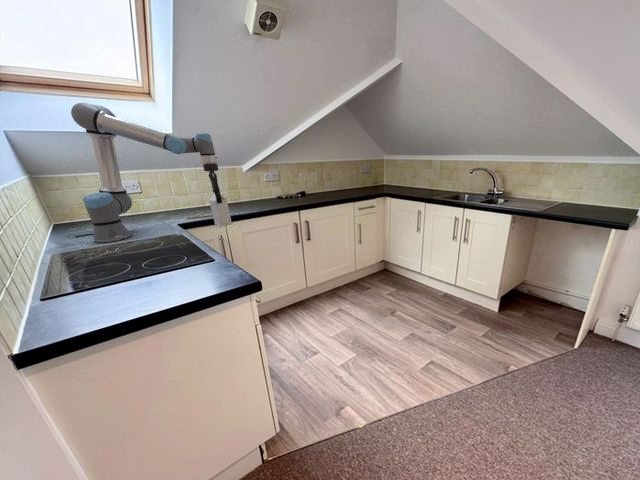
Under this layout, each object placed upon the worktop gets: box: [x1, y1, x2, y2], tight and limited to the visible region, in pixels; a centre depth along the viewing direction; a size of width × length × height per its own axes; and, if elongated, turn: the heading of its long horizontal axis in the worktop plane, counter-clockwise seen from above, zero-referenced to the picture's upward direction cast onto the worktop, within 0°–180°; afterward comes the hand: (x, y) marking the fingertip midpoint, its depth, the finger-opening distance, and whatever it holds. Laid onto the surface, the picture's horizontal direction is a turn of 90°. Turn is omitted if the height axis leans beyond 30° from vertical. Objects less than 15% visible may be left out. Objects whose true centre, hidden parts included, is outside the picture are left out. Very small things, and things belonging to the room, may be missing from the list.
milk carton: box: [208, 192, 233, 227], centre depth 179 cm, size 7×7×19 cm
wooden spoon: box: [186, 213, 213, 220], centre depth 203 cm, size 15×5×1 cm, turn 119°
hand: (218, 201), depth 177 cm, fingers open, 13 cm apart
